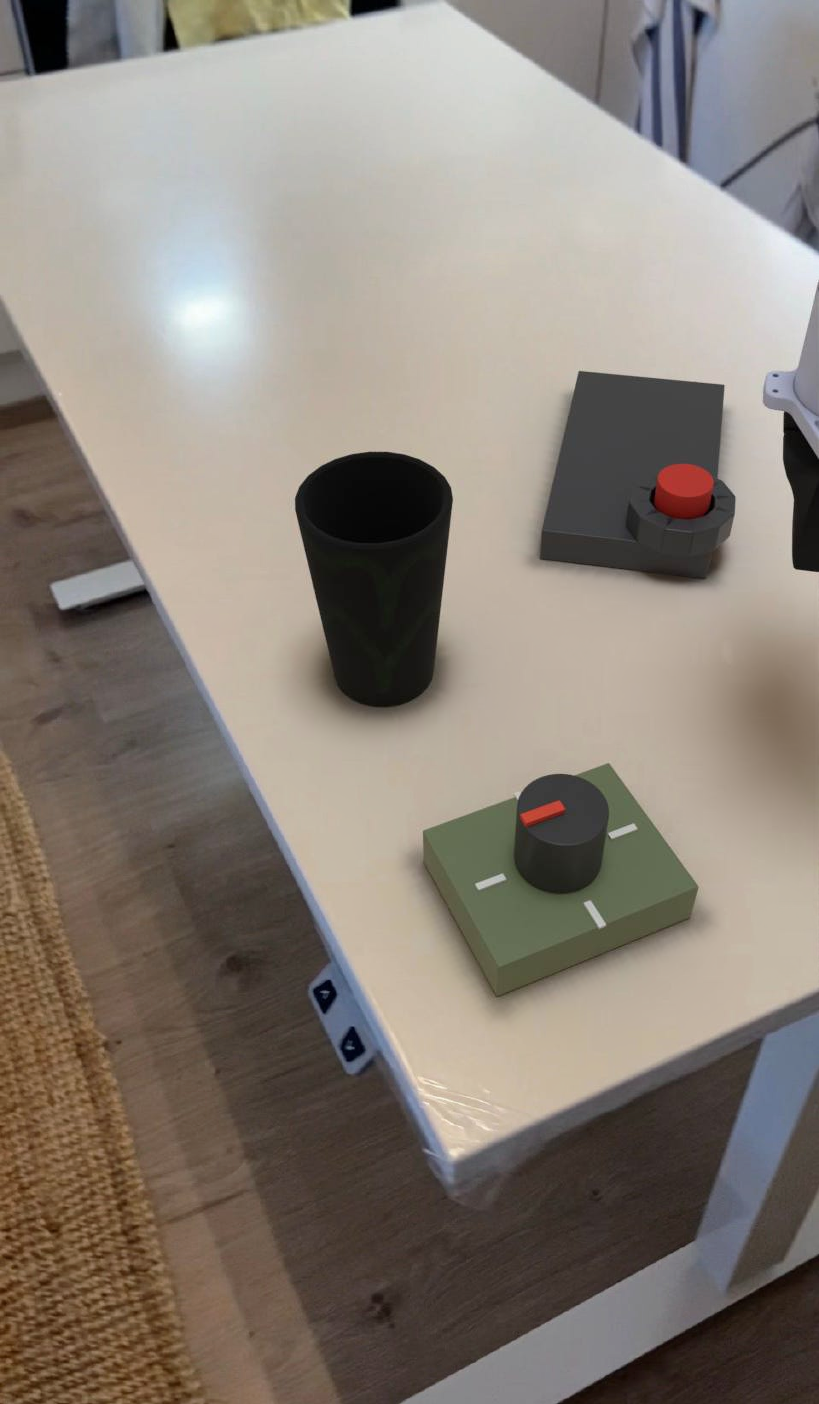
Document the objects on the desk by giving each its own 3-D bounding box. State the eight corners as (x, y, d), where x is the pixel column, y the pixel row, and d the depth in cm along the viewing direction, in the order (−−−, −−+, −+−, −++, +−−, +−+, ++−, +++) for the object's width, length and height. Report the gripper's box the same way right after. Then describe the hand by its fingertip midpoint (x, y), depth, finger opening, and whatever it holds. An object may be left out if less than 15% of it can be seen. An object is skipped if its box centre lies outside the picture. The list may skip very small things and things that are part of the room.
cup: (396, 742, 63) (386, 568, 54) (287, 681, 66) (261, 508, 57) (479, 659, 67) (483, 484, 58) (373, 605, 70) (361, 432, 61)
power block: (576, 397, 85) (580, 347, 82) (733, 413, 83) (743, 362, 80) (537, 567, 72) (541, 515, 69) (721, 590, 70) (733, 537, 67)
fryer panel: (603, 792, 60) (608, 758, 58) (692, 919, 55) (701, 886, 53) (422, 860, 58) (421, 826, 56) (497, 999, 52) (499, 967, 50)
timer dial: (575, 811, 56) (582, 757, 53) (618, 875, 54) (627, 822, 51) (499, 839, 55) (501, 785, 52) (538, 906, 53) (543, 853, 50)
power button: (656, 485, 72) (659, 460, 70) (710, 490, 71) (715, 466, 70) (651, 517, 69) (655, 493, 68) (707, 523, 69) (712, 499, 68)
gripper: (788, 202, 52) (734, 463, 61) (786, 383, 42) (721, 657, 52) (960, 214, 50) (876, 478, 60) (998, 403, 41) (891, 679, 51)
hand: (815, 562), depth 56 cm, fingers closed
